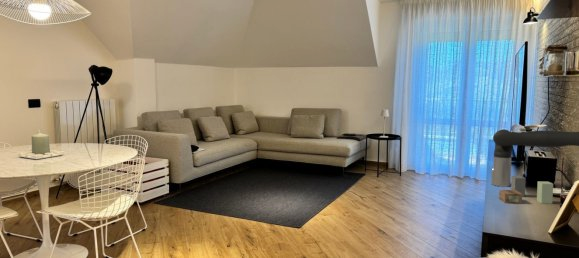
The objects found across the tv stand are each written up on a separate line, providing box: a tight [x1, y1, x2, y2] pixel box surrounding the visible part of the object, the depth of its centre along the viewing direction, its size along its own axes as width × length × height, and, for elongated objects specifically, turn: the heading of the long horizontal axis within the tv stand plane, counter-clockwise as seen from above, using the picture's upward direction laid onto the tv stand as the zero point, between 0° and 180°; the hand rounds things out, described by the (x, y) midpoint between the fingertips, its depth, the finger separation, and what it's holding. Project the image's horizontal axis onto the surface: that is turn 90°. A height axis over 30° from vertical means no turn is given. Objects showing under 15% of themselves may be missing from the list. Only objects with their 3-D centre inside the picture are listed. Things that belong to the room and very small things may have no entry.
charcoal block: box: [510, 175, 526, 198], centre depth 213 cm, size 5×5×10 cm
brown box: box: [498, 189, 523, 205], centre depth 203 cm, size 8×8×5 cm
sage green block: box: [536, 181, 554, 205], centre depth 200 cm, size 5×5×10 cm
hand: (569, 190), depth 198 cm, fingers open, 8 cm apart
